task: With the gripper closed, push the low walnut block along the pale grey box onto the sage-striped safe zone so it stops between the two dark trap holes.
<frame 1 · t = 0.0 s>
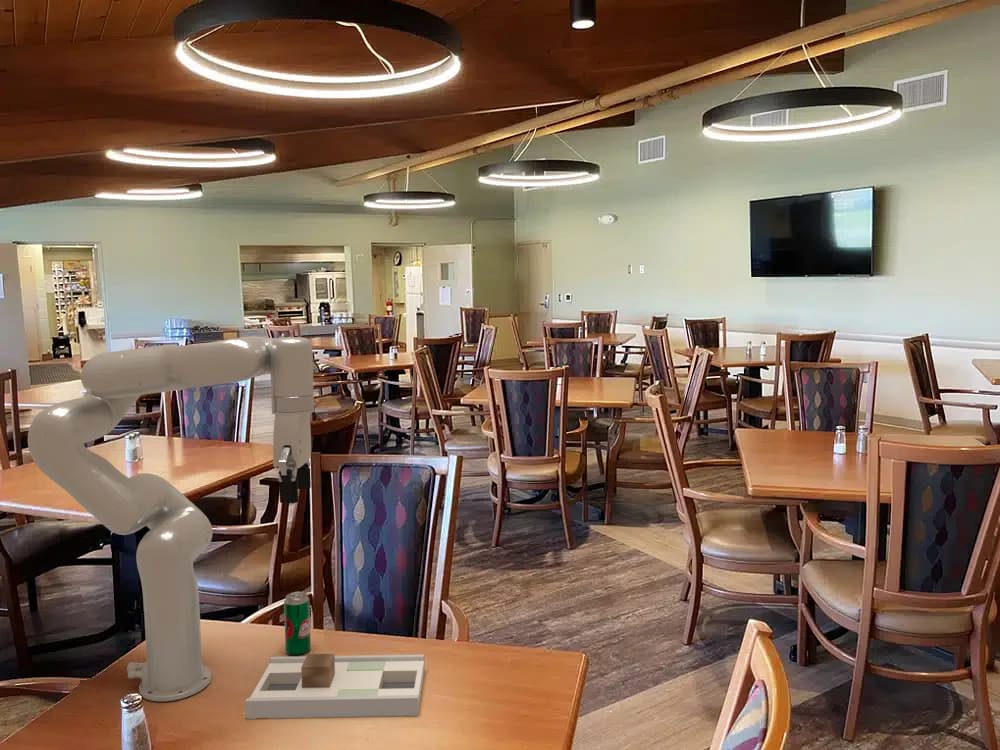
hand: (295, 495, 138), 37 cm above the table, tool pointing down, fingers open, 9 cm apart
walnut block: (318, 680, 138), point 2 cm above the table, touching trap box
soda can: (298, 651, 155), on the table
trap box: (340, 693, 138), on the table
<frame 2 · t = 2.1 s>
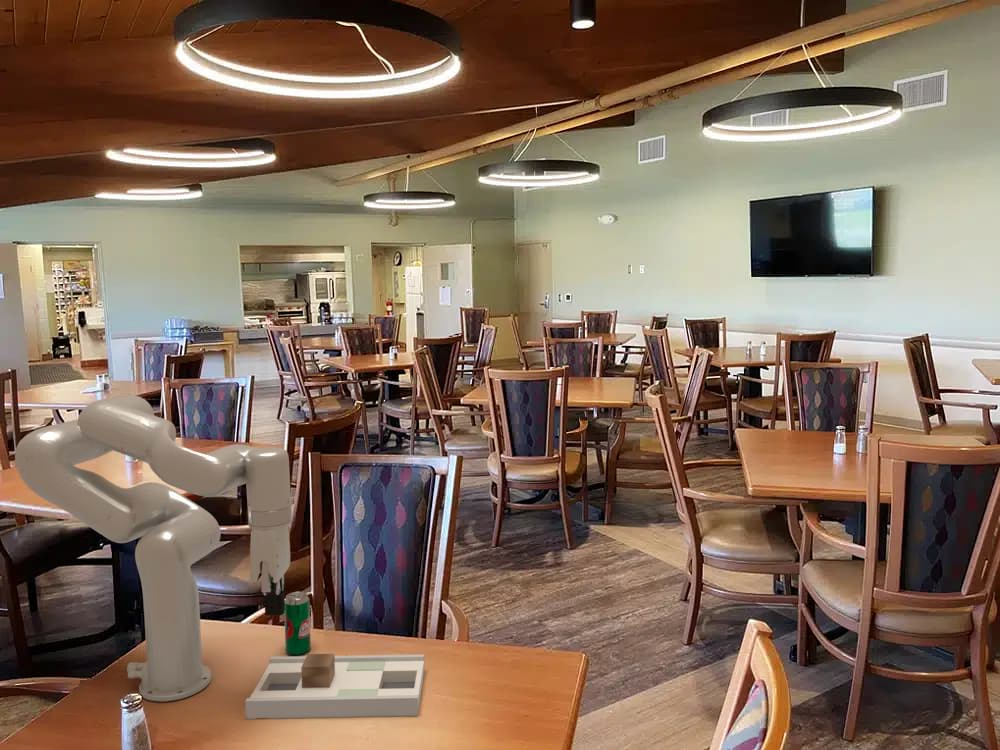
hand: (275, 613, 136), 16 cm above the table, tool pointing down, fingers closed
nothing on the table moved.
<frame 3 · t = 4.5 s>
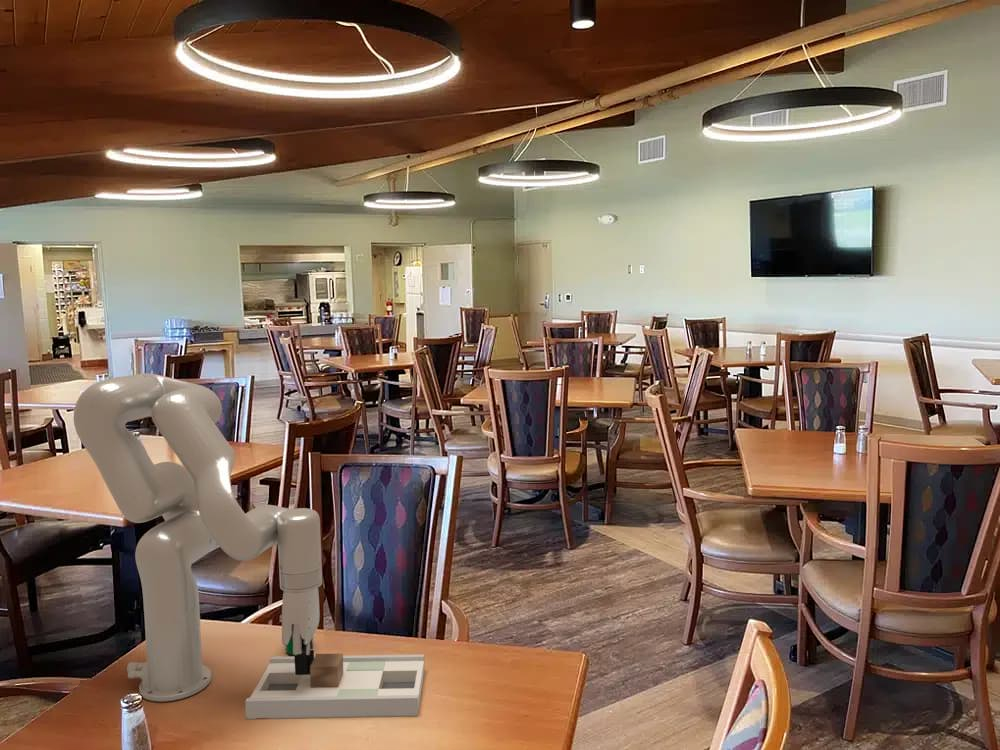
hand: (304, 672, 137), 4 cm above the table, tool pointing down, fingers closed
walnut block: (327, 680, 138), point 3 cm above the table, touching gripper, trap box
everything else where it was.
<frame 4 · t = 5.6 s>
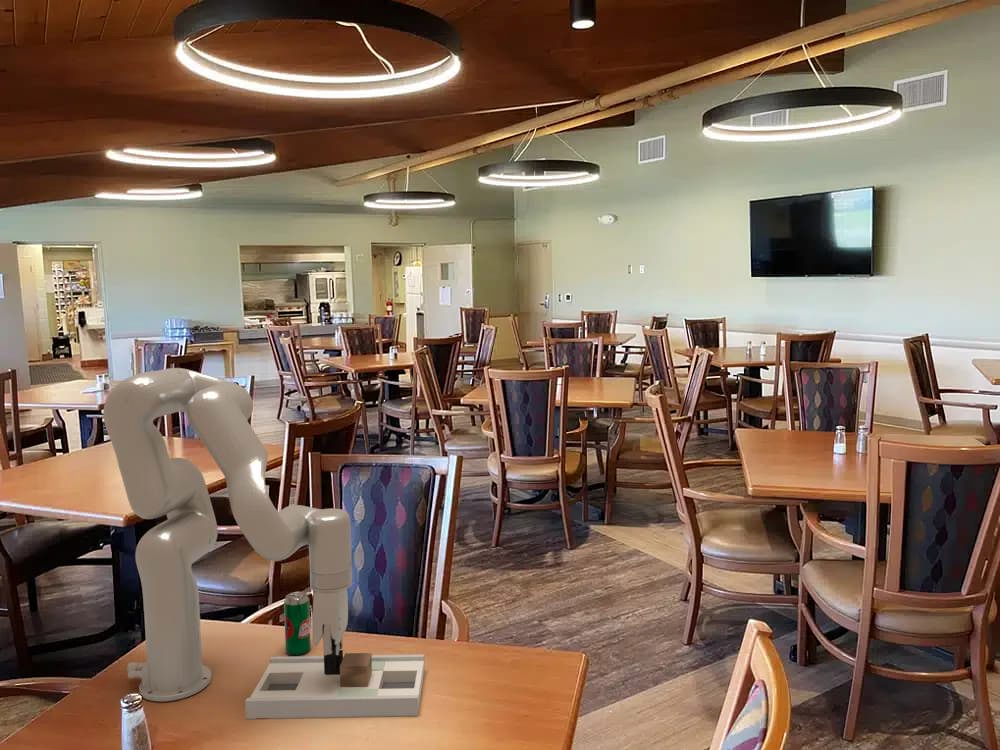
hand: (333, 672, 138), 4 cm above the table, tool pointing down, fingers closed
walnut block: (356, 680, 138), point 3 cm above the table, touching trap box
everything else where it was.
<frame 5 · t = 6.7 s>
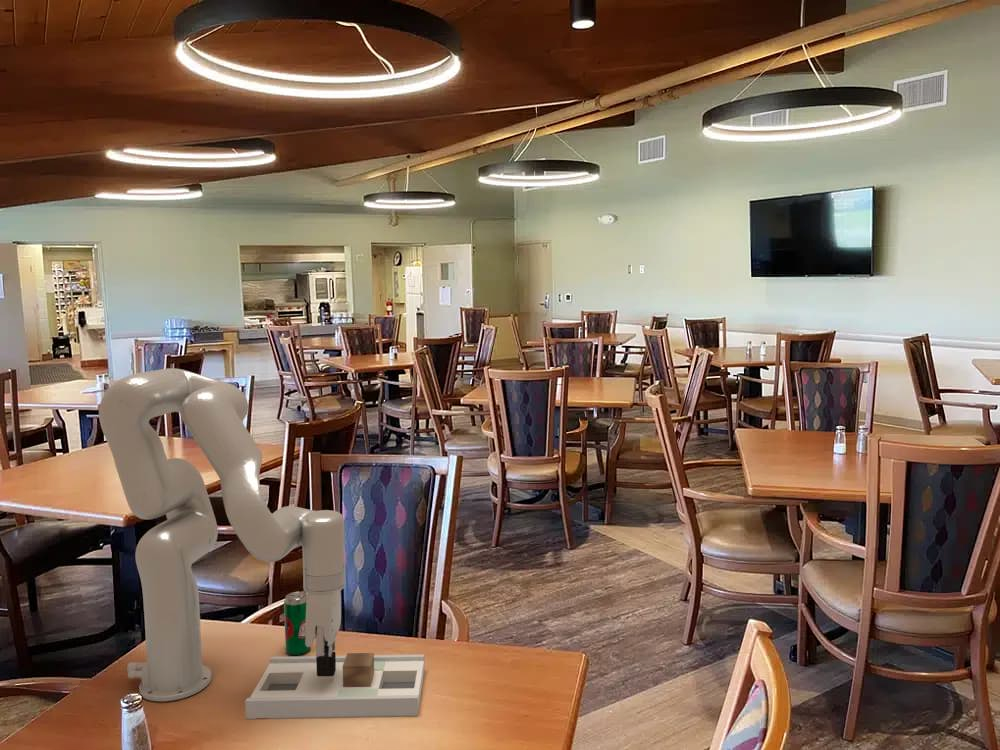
hand: (326, 674, 138), 4 cm above the table, tool pointing down, fingers closed
nothing on the table moved.
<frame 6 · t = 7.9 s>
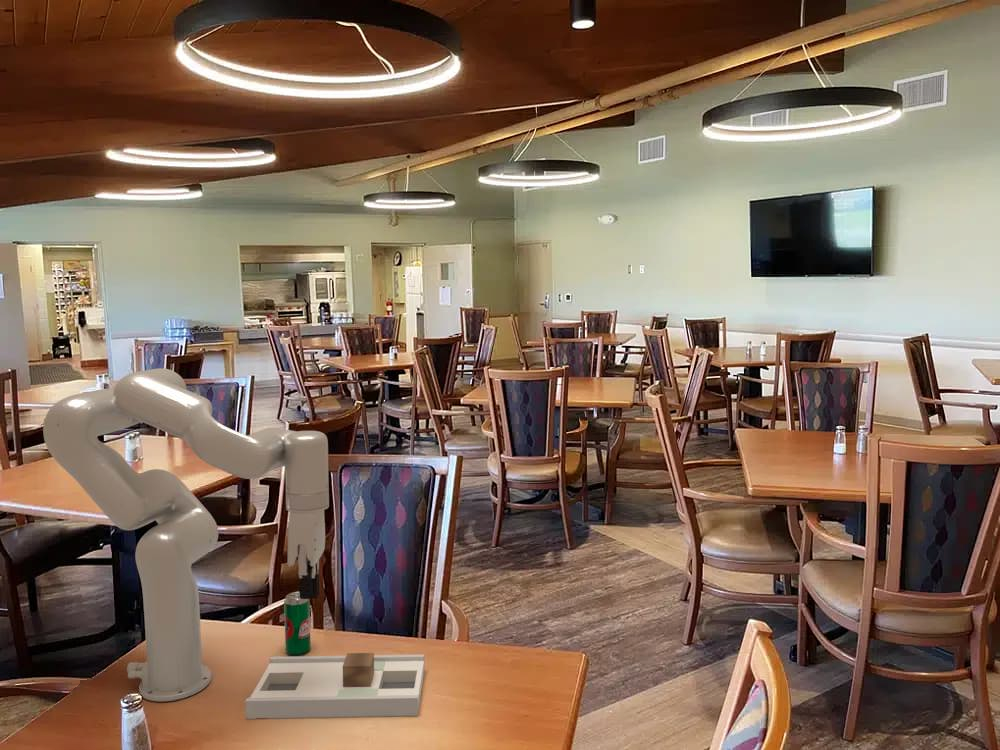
hand: (309, 596, 136), 19 cm above the table, tool pointing down, fingers closed
nothing on the table moved.
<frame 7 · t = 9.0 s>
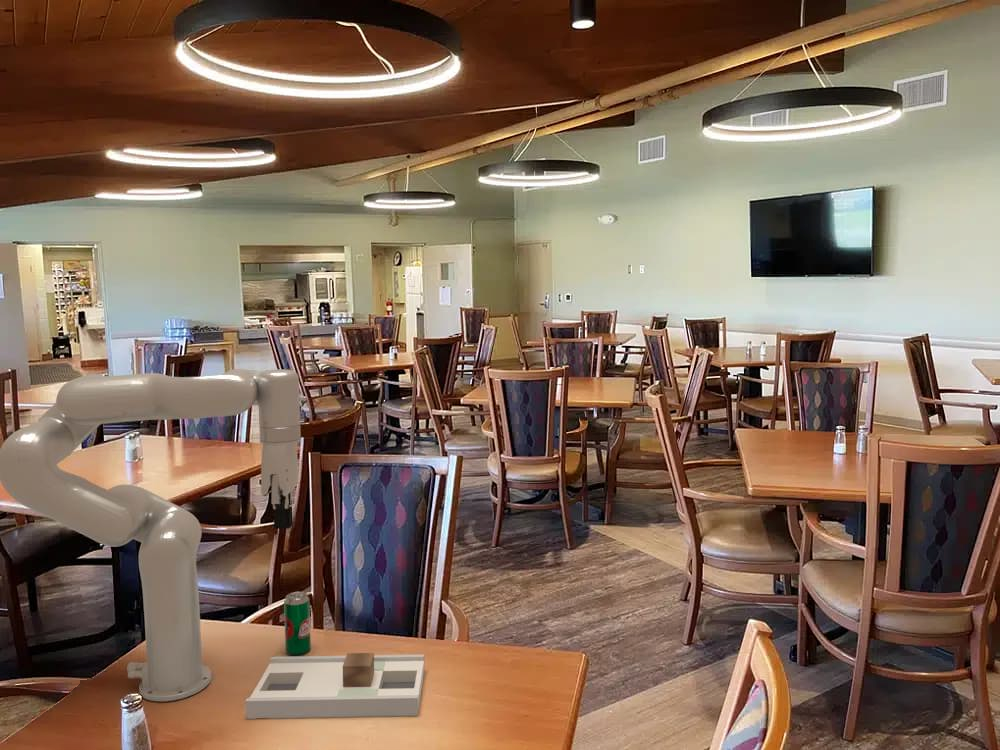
hand: (283, 527, 144), 29 cm above the table, tool pointing down, fingers closed
nothing on the table moved.
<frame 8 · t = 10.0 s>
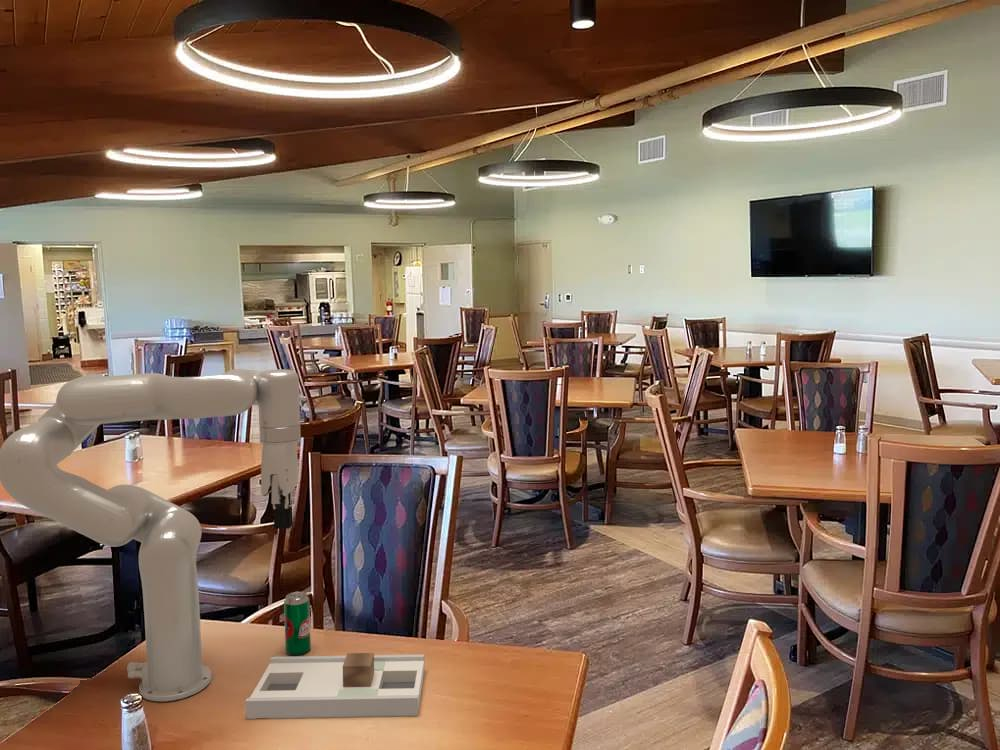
hand: (283, 527, 144), 29 cm above the table, tool pointing down, fingers closed
nothing on the table moved.
at the end: walnut block 0.1 cm from the target spot, point 2.5 cm above the table; walnut block tilted 0°; walnut block moved 7.4 cm from its start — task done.
